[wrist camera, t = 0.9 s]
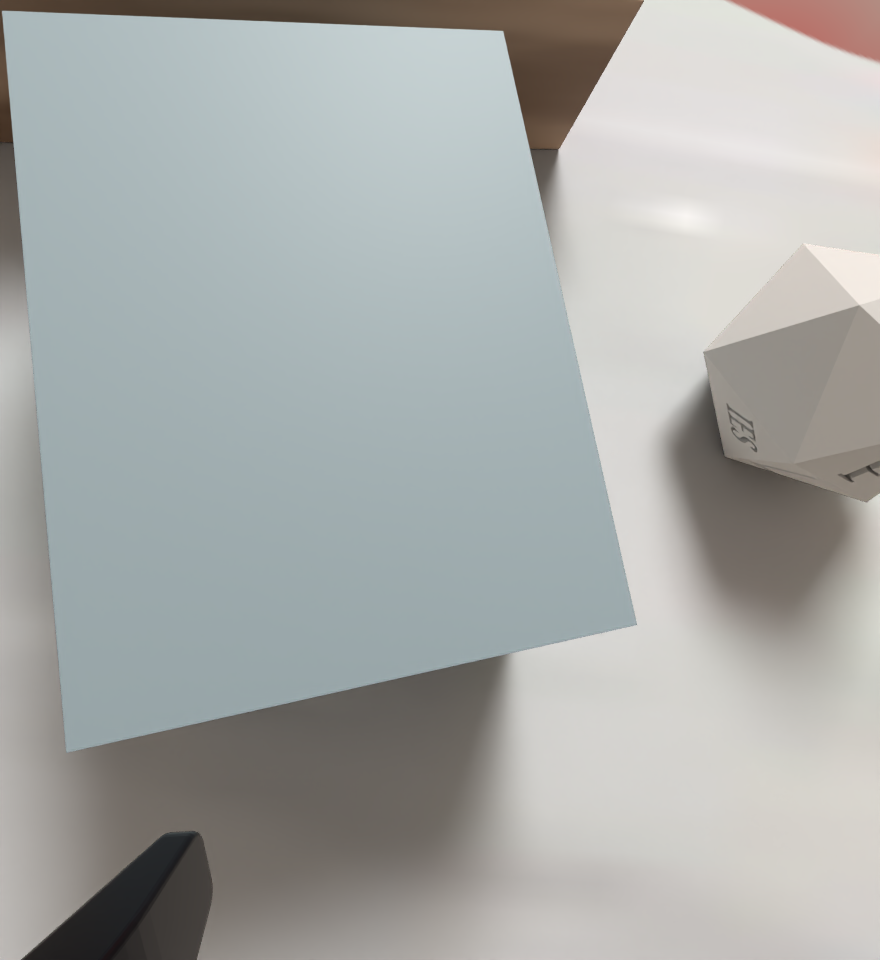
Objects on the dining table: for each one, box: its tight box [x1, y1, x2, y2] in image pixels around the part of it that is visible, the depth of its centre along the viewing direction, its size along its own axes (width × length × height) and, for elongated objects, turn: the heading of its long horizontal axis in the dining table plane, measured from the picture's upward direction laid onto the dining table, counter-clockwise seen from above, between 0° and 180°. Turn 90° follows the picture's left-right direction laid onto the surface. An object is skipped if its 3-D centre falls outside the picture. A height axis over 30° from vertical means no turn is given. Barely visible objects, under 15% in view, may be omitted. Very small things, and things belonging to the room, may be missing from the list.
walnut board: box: [0, 0, 644, 149], centre depth 21 cm, size 2×24×7 cm, turn 100°
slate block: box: [2, 11, 637, 753], centre depth 18 cm, size 16×12×9 cm
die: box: [703, 244, 880, 502], centre depth 23 cm, size 8×9×10 cm
